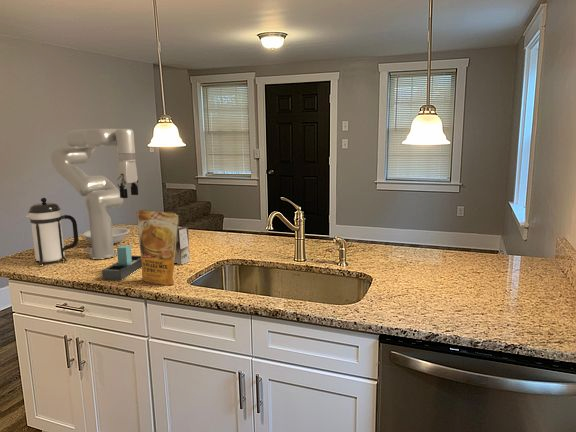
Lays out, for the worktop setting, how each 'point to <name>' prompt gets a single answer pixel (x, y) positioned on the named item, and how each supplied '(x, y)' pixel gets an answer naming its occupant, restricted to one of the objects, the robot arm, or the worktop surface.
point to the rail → (121, 269)
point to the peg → (124, 255)
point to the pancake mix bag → (157, 245)
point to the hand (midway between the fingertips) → (129, 196)
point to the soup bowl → (116, 233)
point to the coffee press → (49, 232)
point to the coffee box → (182, 246)
